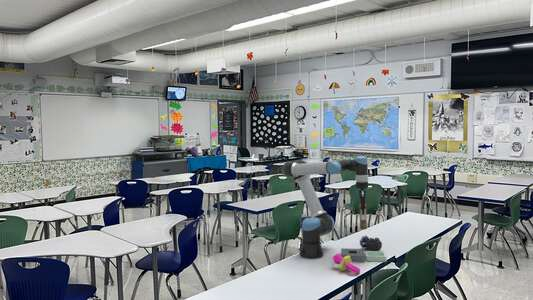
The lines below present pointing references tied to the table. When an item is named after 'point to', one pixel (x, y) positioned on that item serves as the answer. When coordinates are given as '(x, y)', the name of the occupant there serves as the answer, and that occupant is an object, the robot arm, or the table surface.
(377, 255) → the tray
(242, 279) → the table surface
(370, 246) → the toy
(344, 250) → the hitch block
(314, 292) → the table surface
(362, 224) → the pin
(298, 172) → the robot arm
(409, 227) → the table surface
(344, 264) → the toy
